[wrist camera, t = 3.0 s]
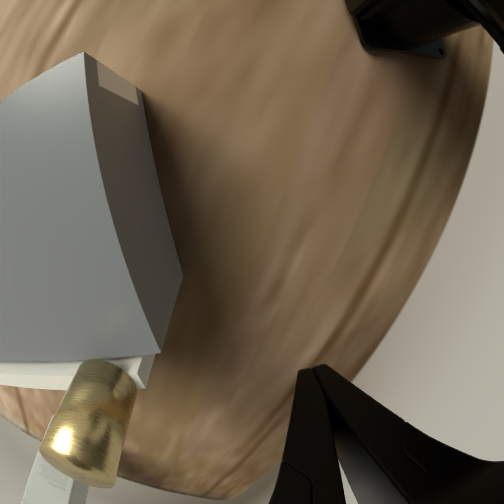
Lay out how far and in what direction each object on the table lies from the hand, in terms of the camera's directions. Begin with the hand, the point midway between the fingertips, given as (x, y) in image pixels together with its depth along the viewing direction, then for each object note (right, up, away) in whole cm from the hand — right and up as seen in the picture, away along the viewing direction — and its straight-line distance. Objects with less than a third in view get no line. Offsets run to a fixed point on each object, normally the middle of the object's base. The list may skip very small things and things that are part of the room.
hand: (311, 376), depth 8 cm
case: (-13, +6, +5) cm, 15 cm away
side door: (-12, 0, +7) cm, 14 cm away
